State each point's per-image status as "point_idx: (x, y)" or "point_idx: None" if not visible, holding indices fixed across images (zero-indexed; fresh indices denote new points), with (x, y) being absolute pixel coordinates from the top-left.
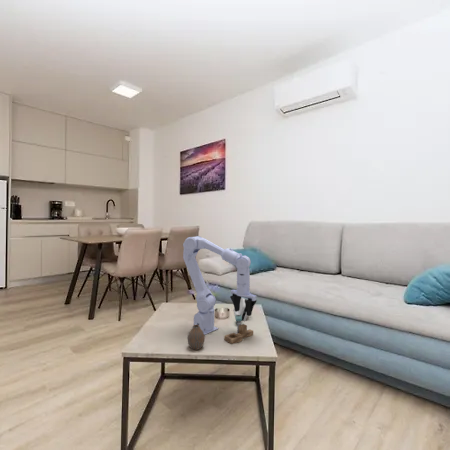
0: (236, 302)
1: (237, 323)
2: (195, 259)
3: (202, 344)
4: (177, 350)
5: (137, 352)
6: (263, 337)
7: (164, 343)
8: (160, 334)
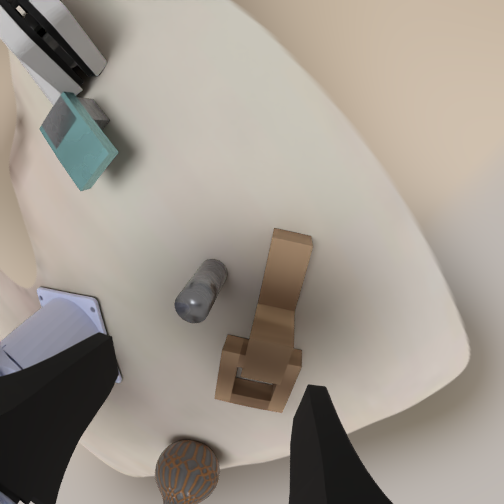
0: (61, 440)
1: (184, 319)
2: None
3: (218, 465)
4: None
5: (136, 476)
6: (390, 229)
7: (120, 446)
8: None
